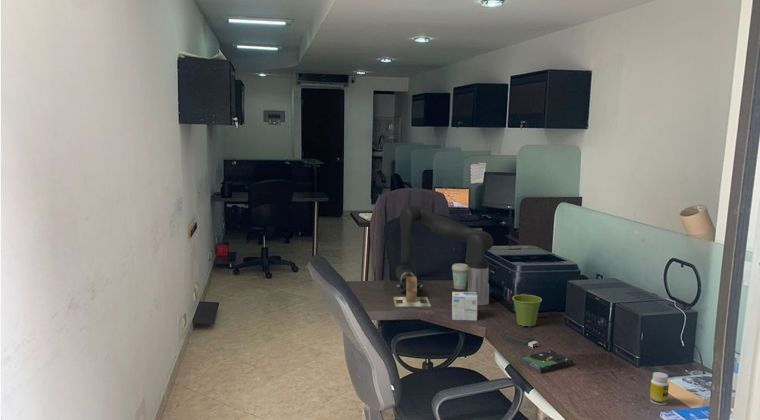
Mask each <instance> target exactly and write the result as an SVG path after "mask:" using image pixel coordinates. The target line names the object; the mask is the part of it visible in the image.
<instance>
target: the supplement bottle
mask: <svg viewBox="0 0 760 420" xmlns="http://www.w3.org/2000/svg"><path fill="white" fill-rule="evenodd" d="M668 381H669V374H666V372H665V373H664V372H660V371H659V372H658V371H655V372H653V373H652V378H651V381H650V391H649V401H650V402H651V403H652V404H654V405H659V406H665V405H668V400H669V399H668V398H669V388H670V387H669V385H670V383H669V382H668Z"/></svg>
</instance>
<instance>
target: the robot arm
mask: <svg viewBox="0 0 760 420" xmlns="http://www.w3.org/2000/svg"><path fill="white" fill-rule="evenodd" d="M399 224H400V237H401V248H400V262H401V263H404V264H406V265H400V266H398V267H396V269H395V270H396V271H395V275H396V278H397V279H398V280H399V281H400V282H398V281H397V282H396V289H399V290H403V291H406V277H416V278H417V269H416V264H415V251H416V246H415V243H414V240H413V236H412V225H415V224H421V225H425V226H427V227H428V228H430V230H431V231H432V233H434V234H435V235H437V236H439V237H441V238H444V239H448V240H452V241H459V242H465V243H466V259H467V263H468V264H467V265H468V274H467V292H476V293H477V306H485V305H489V301H490V284H489V269H490V268H489V267H490V263H489V260H487V259H485V252H486V251H489V250H491V248H492V247H493V246H494V239H493V237H492V235H491V234H490V233H488V232H486V231H484V230H480V229H475V228H473V227H472V228H471V227H470V226H467V225H465V224H462V223H460V222H457V221H456V220H455V221H454V220H452V219H450V218H447V217H445V216H441V215H439V214H436V213H433V212H431V211H429V210H427V209H426V208H424V207H421V206H419V205H415V204H413V205H409V206H405V207H403V208H402V209H401V210H400V212H399ZM423 285H424V284H423V282H418V281H417V291H418V290H421V289H423Z"/></svg>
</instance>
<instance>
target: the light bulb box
mask: <svg viewBox="0 0 760 420" xmlns="http://www.w3.org/2000/svg"><path fill="white" fill-rule="evenodd" d="M451 293H452V297H451V318H452V321H453V320H454V321H473V322H474V321H476V322H477V321H478V305H477V293H476V292H468V291H452V292H451Z"/></svg>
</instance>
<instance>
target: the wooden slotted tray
mask: <svg viewBox="0 0 760 420" xmlns="http://www.w3.org/2000/svg"><path fill="white" fill-rule="evenodd" d="M392 299H393V303H394V307H431V304H430V301H429V299H428V296H417V303H407V301H406V296H393V298H392ZM399 300H400V301H401V300H402V302H401V303H398V302H397V301H399ZM422 300H424V301H425V300H426V303H424V302H423V303H421V301H422Z"/></svg>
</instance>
